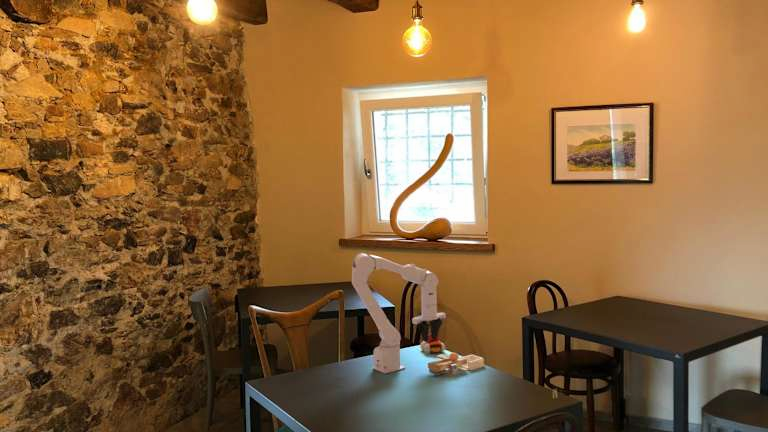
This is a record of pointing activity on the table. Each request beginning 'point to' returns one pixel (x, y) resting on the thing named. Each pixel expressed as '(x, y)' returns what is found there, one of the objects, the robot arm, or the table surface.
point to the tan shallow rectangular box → (471, 363)
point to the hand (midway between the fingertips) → (429, 340)
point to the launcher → (444, 364)
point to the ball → (453, 357)
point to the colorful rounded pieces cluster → (432, 345)
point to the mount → (452, 370)
